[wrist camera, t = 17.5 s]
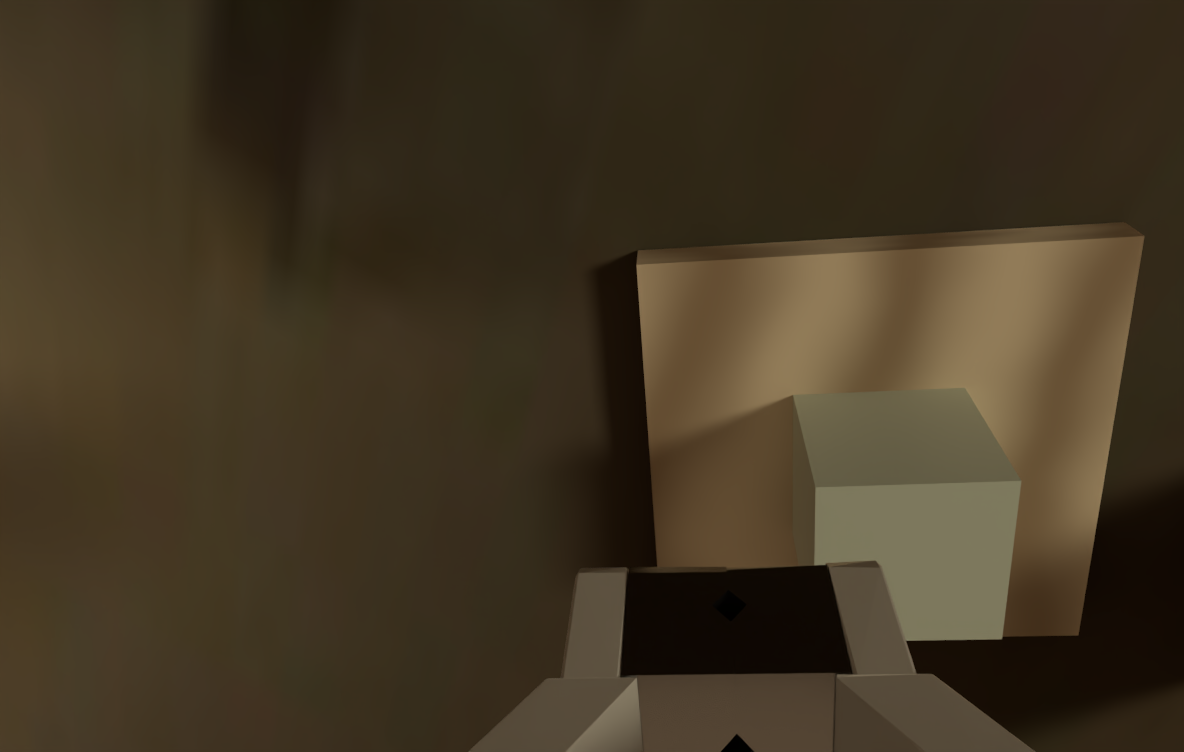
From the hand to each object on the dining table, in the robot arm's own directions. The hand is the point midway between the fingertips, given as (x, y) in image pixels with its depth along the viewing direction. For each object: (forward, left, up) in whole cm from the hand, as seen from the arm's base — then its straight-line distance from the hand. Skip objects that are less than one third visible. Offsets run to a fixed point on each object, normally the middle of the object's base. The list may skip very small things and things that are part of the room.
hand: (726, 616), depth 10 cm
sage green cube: (-6, +12, -23) cm, 26 cm away
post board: (-6, +12, -24) cm, 28 cm away
